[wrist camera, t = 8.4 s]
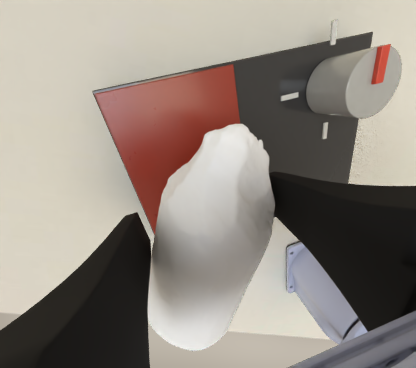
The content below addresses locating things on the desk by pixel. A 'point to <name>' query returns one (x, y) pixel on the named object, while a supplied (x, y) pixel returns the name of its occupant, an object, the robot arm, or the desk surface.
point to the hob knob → (355, 82)
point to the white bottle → (210, 238)
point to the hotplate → (167, 125)
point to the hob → (291, 109)
